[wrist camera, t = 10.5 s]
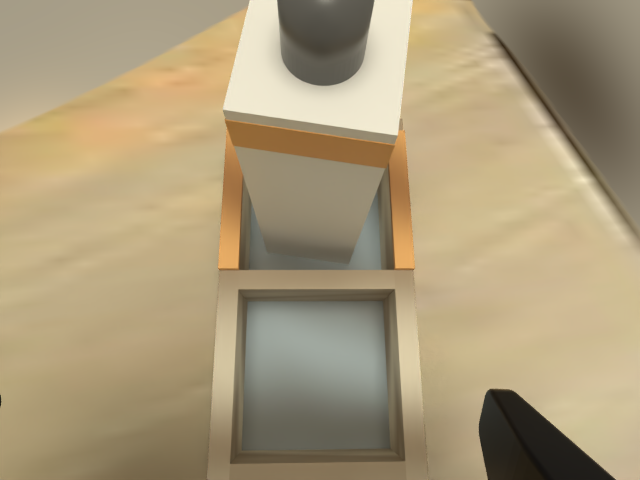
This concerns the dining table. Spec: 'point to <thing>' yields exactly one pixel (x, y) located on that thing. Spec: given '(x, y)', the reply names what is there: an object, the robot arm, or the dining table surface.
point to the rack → (317, 348)
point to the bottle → (316, 116)
